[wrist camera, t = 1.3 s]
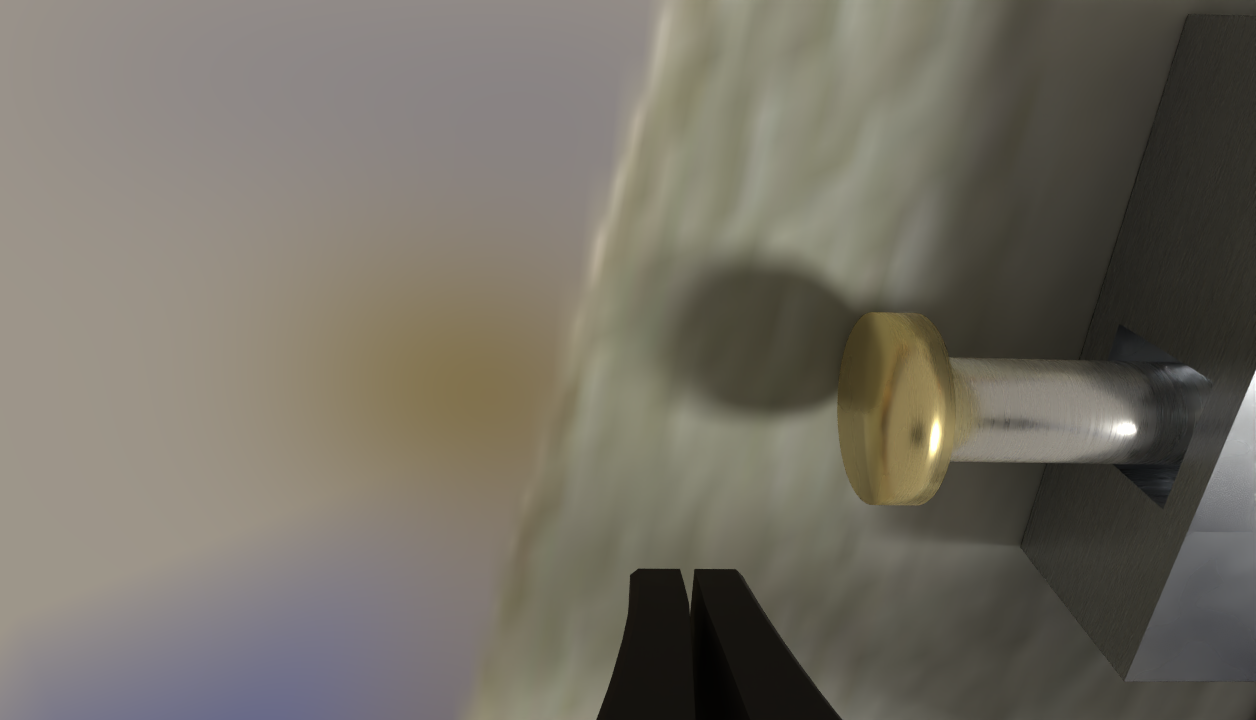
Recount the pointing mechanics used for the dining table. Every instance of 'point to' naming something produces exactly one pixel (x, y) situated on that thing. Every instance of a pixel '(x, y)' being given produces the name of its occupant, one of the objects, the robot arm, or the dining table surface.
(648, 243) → the dining table surface
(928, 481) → the gold headed rod
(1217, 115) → the bracket
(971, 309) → the dining table surface
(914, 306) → the dining table surface
